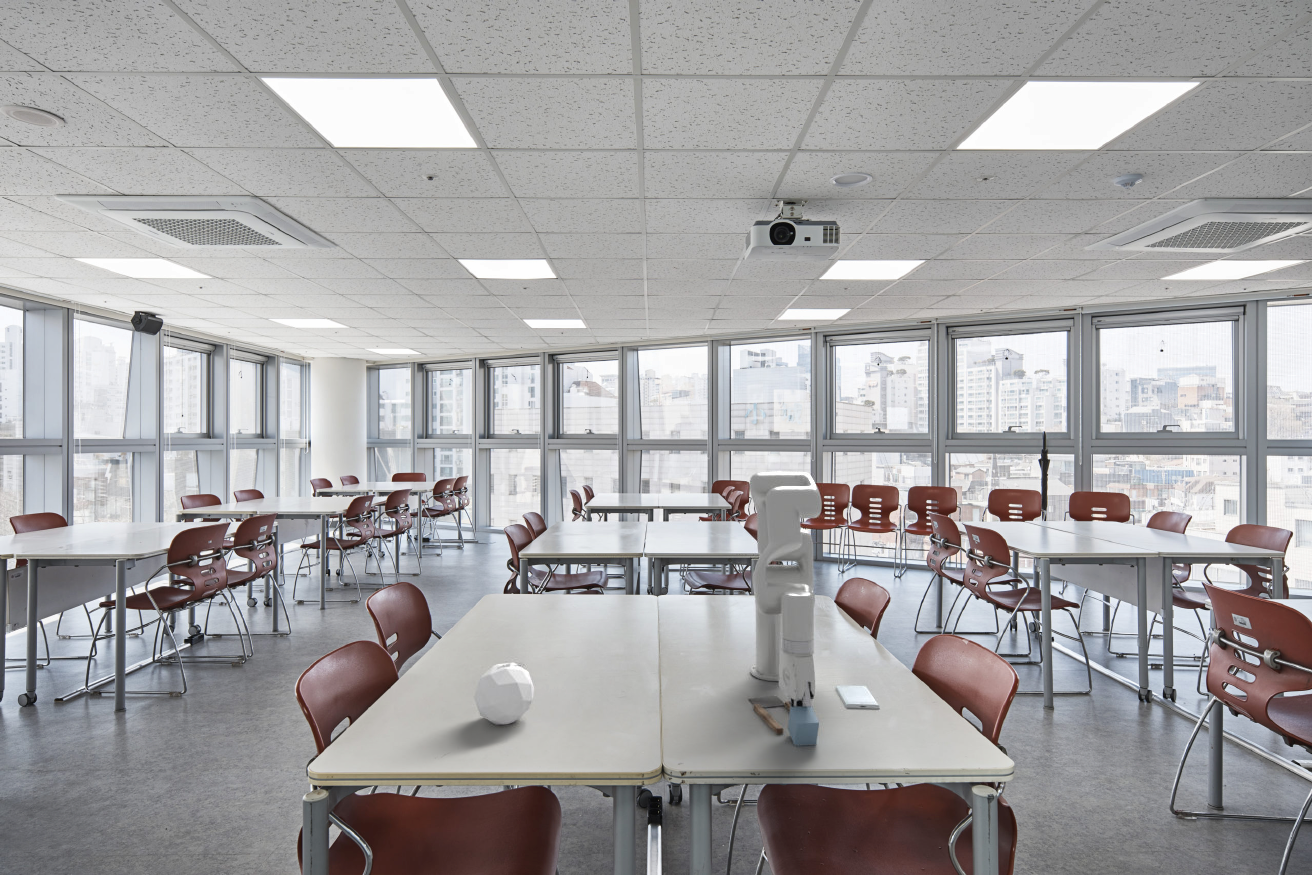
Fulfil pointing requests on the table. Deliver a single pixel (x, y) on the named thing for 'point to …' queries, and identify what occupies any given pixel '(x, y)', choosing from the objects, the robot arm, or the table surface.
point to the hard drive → (857, 697)
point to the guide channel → (769, 703)
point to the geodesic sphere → (504, 693)
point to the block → (803, 725)
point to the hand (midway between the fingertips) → (798, 724)
